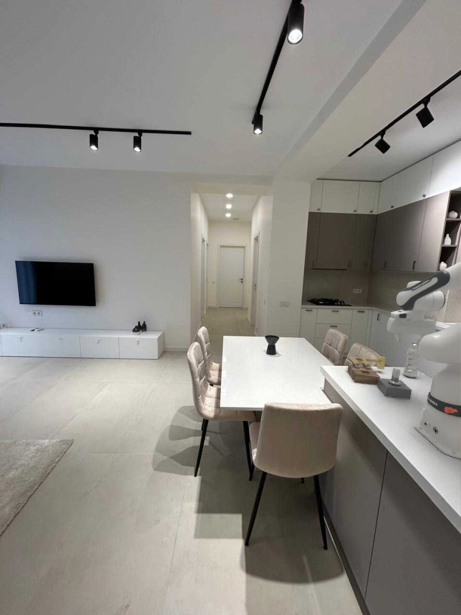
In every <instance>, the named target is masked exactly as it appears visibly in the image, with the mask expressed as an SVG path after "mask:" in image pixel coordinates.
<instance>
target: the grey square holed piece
mask: <svg viewBox="0 0 461 615" xmlns="http://www.w3.org/2000/svg"><path fill="white" fill-rule="evenodd" d="M389 379H390V378H383V377H380V378H378V383H377V385H376V387H377V388H378V389H379V391H380V392H381V393H382V395H384V397H388V398H395V399H396V398H397V399H403V400H404V399H405V400H411V399H412V398H411V397H412V390H413V389H411V388H410V387H409V386H408V385H407V384H406V383H404V381H402V379H399V381H400V382H401V385H400V386H396V385H391V384H390V383H389V382H388V381H389Z"/></svg>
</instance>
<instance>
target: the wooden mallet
mask: <svg viewBox="0 0 461 615" xmlns="http://www.w3.org/2000/svg"><path fill="white" fill-rule="evenodd" d="M386 359H387V358H386V357H385V356H382V355H381V356H380V355H378V356H377V358H369V357H360V356H359V357H358V356H350V360H351V362H353V363H354V364H355V365H360V362H359V361H361V362H362V364H363V363H364V364H365V365H366V366H371V363H376V368H377V369H378V370H385V367H386ZM370 362H371V363H370Z"/></svg>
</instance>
